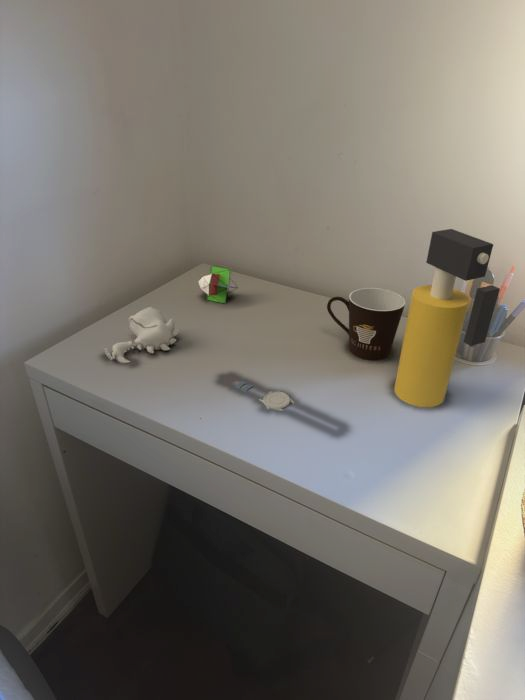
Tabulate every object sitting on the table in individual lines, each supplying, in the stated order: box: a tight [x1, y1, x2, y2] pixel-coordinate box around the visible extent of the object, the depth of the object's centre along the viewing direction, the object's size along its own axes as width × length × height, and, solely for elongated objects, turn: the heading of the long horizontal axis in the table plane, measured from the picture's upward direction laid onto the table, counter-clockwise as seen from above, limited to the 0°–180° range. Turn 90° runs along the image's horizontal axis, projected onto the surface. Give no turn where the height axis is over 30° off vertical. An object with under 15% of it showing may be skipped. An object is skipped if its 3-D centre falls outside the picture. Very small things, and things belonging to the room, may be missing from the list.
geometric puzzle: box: [197, 265, 239, 305], centre depth 98 cm, size 7×7×8 cm
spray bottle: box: [393, 228, 494, 408], centre depth 65 cm, size 7×9×24 cm
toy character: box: [103, 306, 181, 364], centre depth 80 cm, size 6×9×12 cm
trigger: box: [463, 284, 501, 347], centre depth 59 cm, size 2×1×7 cm, turn 117°
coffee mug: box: [326, 287, 406, 362], centre depth 81 cm, size 12×9×10 cm
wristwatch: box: [234, 380, 295, 412], centre depth 69 cm, size 4×20×1 cm, turn 53°
